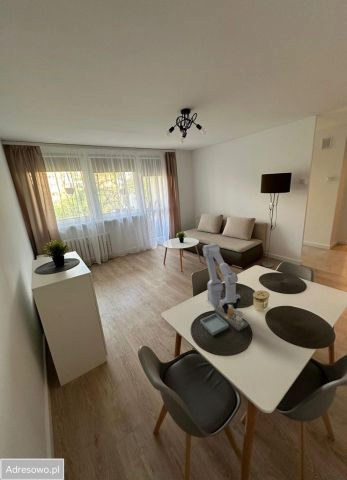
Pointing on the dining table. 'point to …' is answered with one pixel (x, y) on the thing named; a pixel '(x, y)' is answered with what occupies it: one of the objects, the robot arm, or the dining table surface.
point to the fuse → (239, 317)
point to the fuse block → (231, 319)
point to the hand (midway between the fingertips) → (230, 310)
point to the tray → (214, 324)
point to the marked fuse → (230, 310)
